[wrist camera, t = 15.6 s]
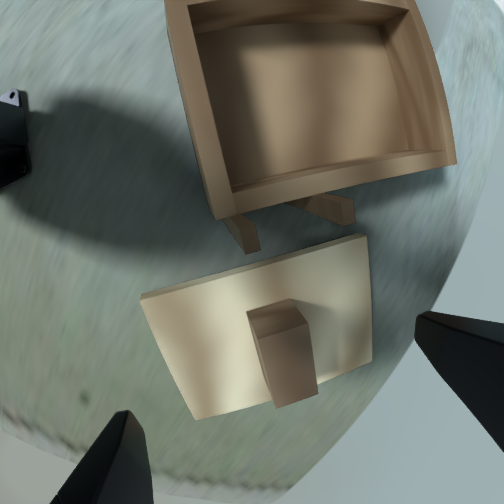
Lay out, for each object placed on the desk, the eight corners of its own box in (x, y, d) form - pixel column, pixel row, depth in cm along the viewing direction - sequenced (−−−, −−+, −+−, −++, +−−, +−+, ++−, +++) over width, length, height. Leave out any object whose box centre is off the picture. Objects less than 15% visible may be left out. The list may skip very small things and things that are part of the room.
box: (212, 222, 19) (230, 259, 11) (165, 21, 14) (158, -49, 7) (413, 173, 21) (490, 183, 13) (373, 11, 17) (435, -25, 9)
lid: (194, 405, 23) (198, 452, 18) (143, 289, 19) (130, 328, 14) (362, 350, 25) (393, 384, 20) (353, 230, 22) (396, 248, 17)
